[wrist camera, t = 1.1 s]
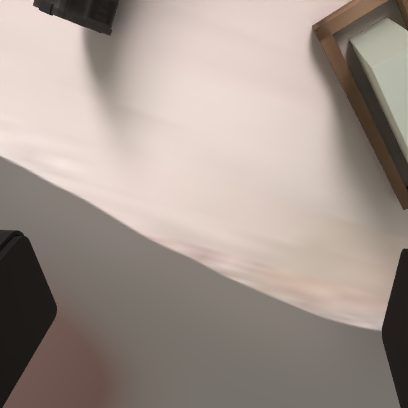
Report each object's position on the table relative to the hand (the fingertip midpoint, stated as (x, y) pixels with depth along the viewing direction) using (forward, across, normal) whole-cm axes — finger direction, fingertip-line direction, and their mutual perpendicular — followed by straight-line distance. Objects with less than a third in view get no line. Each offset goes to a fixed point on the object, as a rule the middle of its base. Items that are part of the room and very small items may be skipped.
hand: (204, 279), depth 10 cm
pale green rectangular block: (+28, -12, +5) cm, 31 cm away
